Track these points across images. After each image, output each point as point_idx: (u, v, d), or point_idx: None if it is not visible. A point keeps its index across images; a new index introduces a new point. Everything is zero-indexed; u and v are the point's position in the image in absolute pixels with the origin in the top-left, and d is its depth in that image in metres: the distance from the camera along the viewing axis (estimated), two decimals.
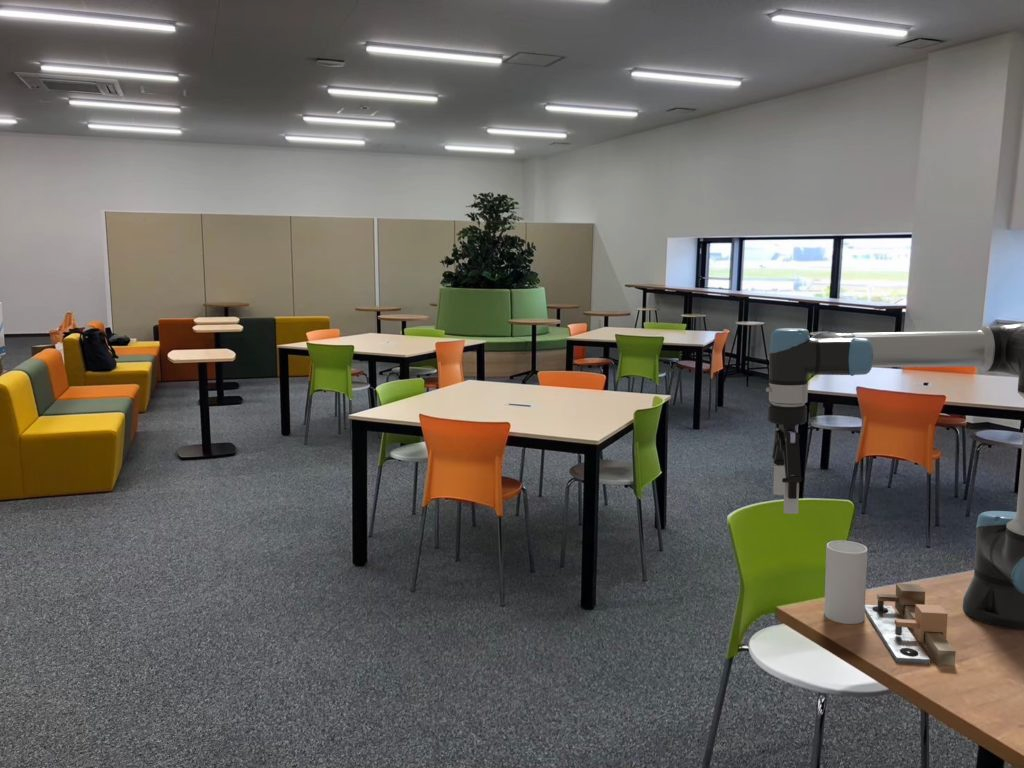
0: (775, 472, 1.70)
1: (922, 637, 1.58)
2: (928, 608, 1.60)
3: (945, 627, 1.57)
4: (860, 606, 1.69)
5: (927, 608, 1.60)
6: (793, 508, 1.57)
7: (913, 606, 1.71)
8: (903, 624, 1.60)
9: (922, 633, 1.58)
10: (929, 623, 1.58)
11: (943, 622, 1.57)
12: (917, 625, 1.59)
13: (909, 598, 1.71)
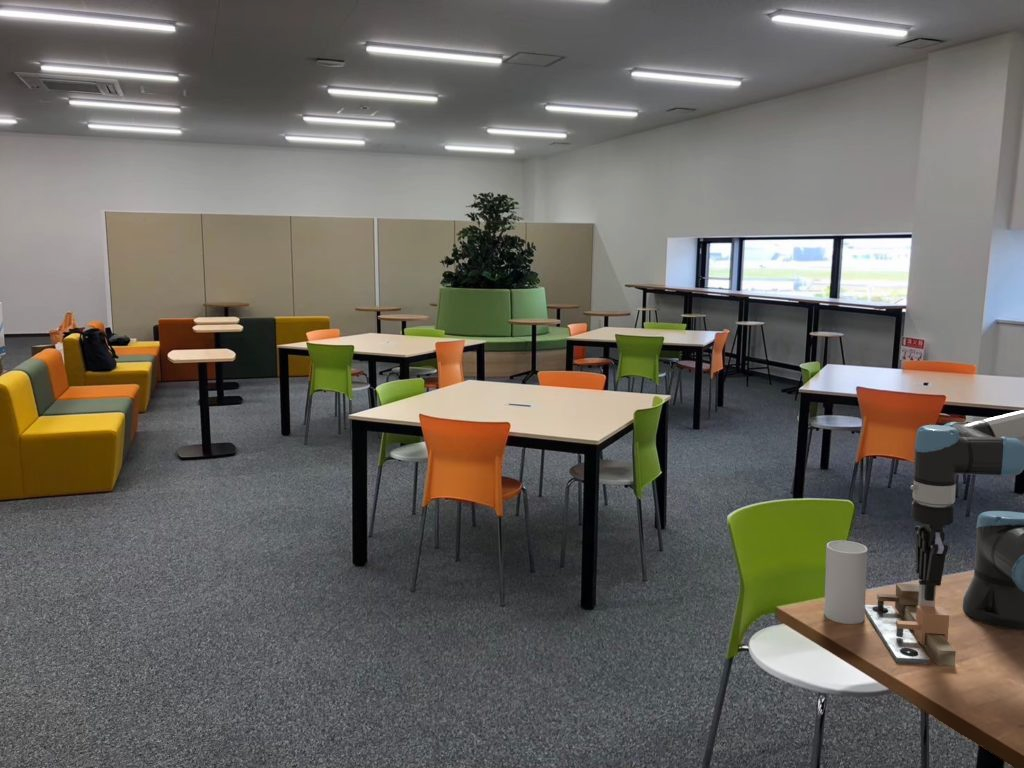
0: None
1: (924, 639, 1.58)
2: (929, 610, 1.59)
3: (946, 629, 1.57)
4: (860, 606, 1.69)
5: (928, 610, 1.59)
6: None
7: (913, 606, 1.71)
8: (904, 626, 1.59)
9: (923, 635, 1.58)
10: (930, 625, 1.57)
11: (944, 624, 1.57)
12: (918, 627, 1.59)
13: (909, 598, 1.71)
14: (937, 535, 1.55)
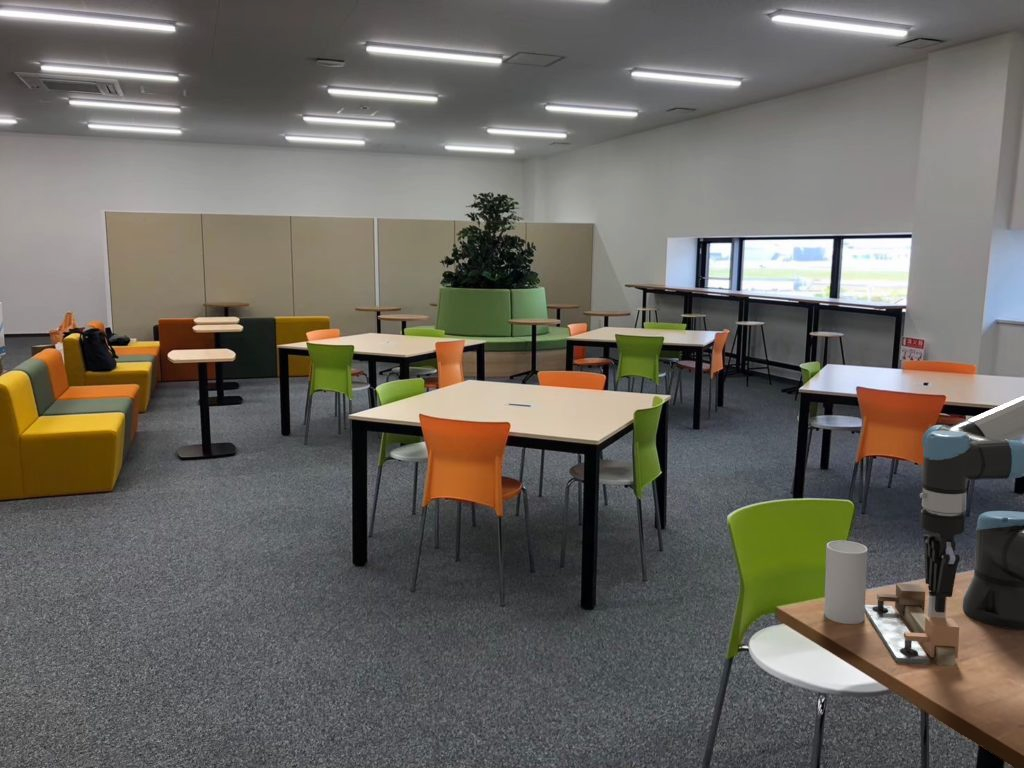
0: None
1: (933, 651, 1.52)
2: (939, 621, 1.54)
3: (957, 641, 1.51)
4: (860, 606, 1.69)
5: (938, 621, 1.54)
6: None
7: (913, 606, 1.71)
8: (913, 638, 1.54)
9: (932, 648, 1.52)
10: (940, 637, 1.52)
11: (955, 636, 1.51)
12: (927, 639, 1.53)
13: (909, 598, 1.71)
14: (948, 545, 1.50)
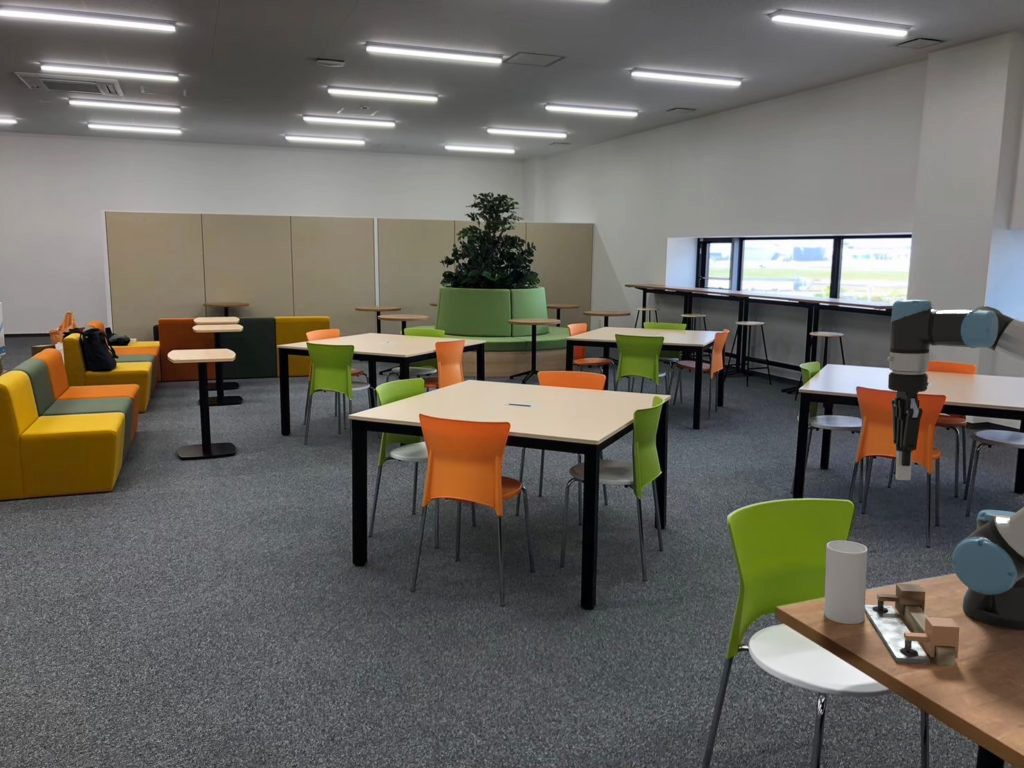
0: None
1: (933, 651, 1.52)
2: (939, 621, 1.53)
3: (957, 641, 1.51)
4: (860, 606, 1.69)
5: (938, 621, 1.53)
6: (906, 475, 1.70)
7: (913, 606, 1.71)
8: (913, 638, 1.54)
9: (933, 648, 1.52)
10: (940, 637, 1.52)
11: (955, 636, 1.51)
12: (927, 639, 1.53)
13: (909, 598, 1.71)
14: (912, 401, 1.65)
